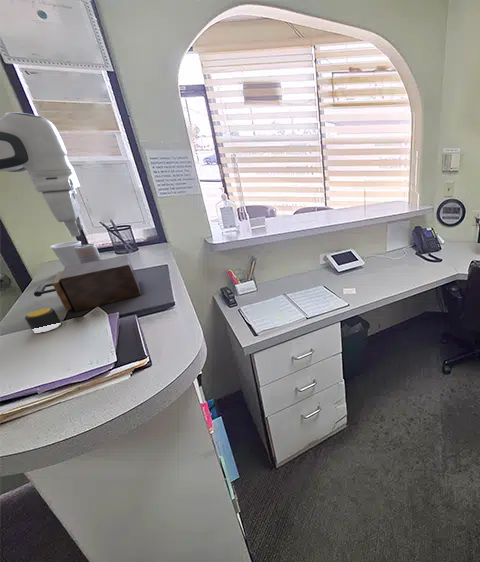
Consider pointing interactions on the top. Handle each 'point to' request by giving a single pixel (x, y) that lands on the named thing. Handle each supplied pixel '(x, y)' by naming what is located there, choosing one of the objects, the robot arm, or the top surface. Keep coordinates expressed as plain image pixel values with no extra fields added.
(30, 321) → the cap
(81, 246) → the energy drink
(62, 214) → the robot arm
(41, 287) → the drawer
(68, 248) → the dixie cup
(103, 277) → the cabinet
